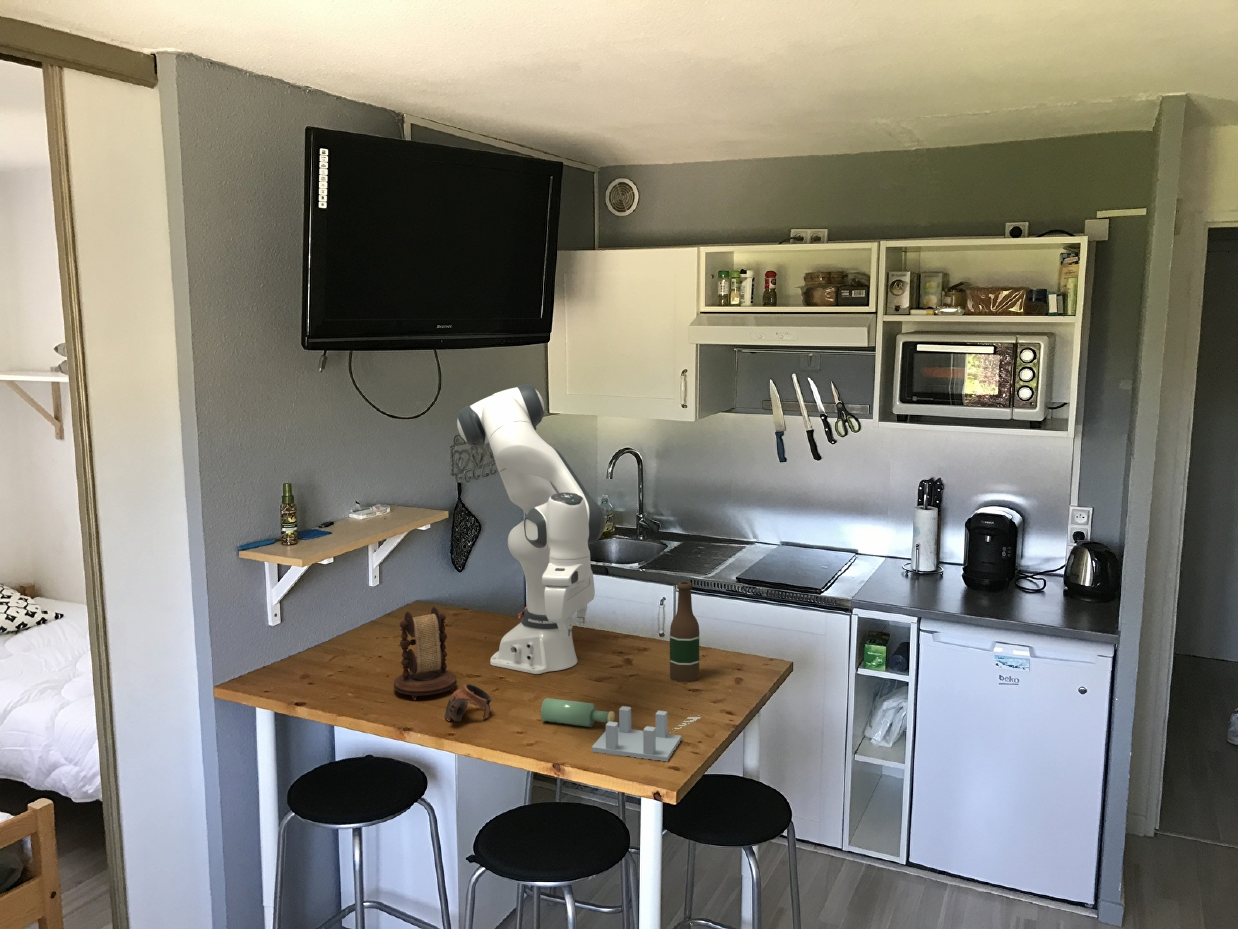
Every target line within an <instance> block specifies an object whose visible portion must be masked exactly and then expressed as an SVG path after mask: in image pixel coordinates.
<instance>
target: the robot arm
mask: <svg viewBox="0 0 1238 929" xmlns="http://www.w3.org/2000/svg"><path fill="white" fill-rule="evenodd" d="M544 416H545V404H544V399H543V397H542V395H541V393H540V392H539V391H538V390H537V389H536V388H535V387H534V386H533V385H531V384H530V383H528V384H527V383H526V384H519V385H517V386H516V387H511V388H507V389H504V390H501V391H498V392H495V393H493V394H492V395H489V396H487V397H485V398H482V399H480V400H478V401H476V402H475V403H473V404H471V405H469V404H468V405H466V406H464V407H463V408H461V409H460V410H459V412H458V413H457V416H456V417H457V421H456V424H457V430H458V432H459V435H460V437H461V438H462V439H463V441H465V442H466V443H467V445H469V446H470V447H475V448H476V447H481V446H485V444H489V446H490V448H491V451H492V452H491V453H492V454H493V459H494V463H495V465H496V468H497V471H498V473H499V476H500V479H501V481H502V484H503V486H504V489H505V491H506V494H507V495H508V498H509V500H510V501H511V503H513V504H514V506H515V505H516V506H518V508H520V509H522V511H523V512H524V513H525V514H526V516H525V517H524V520H522V521H521V522H518V524H517V525H516V526H514V527H513V528H512V529H511V530H510V532H509V533H508V536H507V547H508V549H509V553H510V554H511V556H513V558H514V559H515V560H516V561H518V562H519V563H520V565H521V568H522V570H523V574H524V578H525V579H524V580H525V585H526V604H527V606H525V607H524V609H523V610H521V611H520V613H518V619H520V622H519V623H518V624H517V625H516V626H514V627H513V628H511V629H510V630H509V631H508V632H507V633H505V634H504V635H503V637H502V638H501V640H500V643H499V649H498V651H496V652H495V653H493V655H492V656H491V657H490V661H489V663H490V665H491V666H494V667H498V668H503V669H507V670H514V671H519V672H524V673H527V674H528V673H529V674H535V675H539V674H543V673H547V672H555V671H561V670H566V669H570V668H572V667H574V666H576V664H577V663H578V658H577V655H576V651H575V645H574V641H573V632H572V630H573V625H574V624H573V622H574V620H573V619H574V618H573V615H574V614H576V617H575V625H576V626H577V627H582V626H584V625H585V624H586V623H587V622H586V616H587V611H588V605H589V604H590V603H591V602H592V601H593V600H594V599H595V595H596V594H595V592H596V591H595V580H594V574H593V573H594V572H593V570H592V567H591V551H590V549H589V545H591V544H592V545H593V544H595V543H596V542H597V541H598V540H599V539H600V538H601V536H602V535H603V533H604V531H605V529H606V526H607V525H606V524H607V523H606V516H605V513H604V510H603V509H602V507H601V506H600V504H599V503H597V501H595V499H594V498H593V497H592V496H591V495H590V494H589V492H588V491H587V490H586V488H585V487H584V485H583V484H582V483H581V481H580V479H579V477H578V476H577V474H576V473H575V471H574V470H573V469H572V468H571V466H570V464H569V463H568V461H567V460H566V459H565V457H564V456H563V455H562V453H561V452H560V451H559V450H558V449H557V448H555V447H553V446H551V445H550V444H548V443H547V442H546V441H545V440H544V439H543V438H541V436H540V435H539V434H538V433H537V426H538V425H539V424H540V423H541V422H542V420H543V419H544ZM552 484H553V485H554V487H553V485H552ZM554 488H556V490H557V491H556V490H555V489H554Z"/></svg>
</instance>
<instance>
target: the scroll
mask: <svg viewBox="0 0 1238 929" xmlns="http://www.w3.org/2000/svg"><path fill="white" fill-rule="evenodd" d="M430 610H431V611H430V614H425V615H421V616H414V617H413V615H412V613H411V612H410V611H409V610H408V611H406V612H405V613H404V619H403V620H401V621H400V622H399V627H400V628H401V629H400V631H401V635H400V637H401V640H400V641H399V642H400V645H399V646H400V648H401V649H402V652H401V653H402V654H401V658H402V659H401V662H400V663H401V666H402V669H403V670H402V673H401V675H399V676H396V678H395V679H394V680H393V689H394V690H395V692H397V693H399V694H403V695H406V696H411V698H412V700H413V699H415V698H416V699H417V697H419V696H421V697H422V696H430V695H431V696H432V695H437V694H442V693H445V692H447V691H449V692H451V691H453V692H454V690H455V686H456V685H457V676H456V675H455V673H453V672H452V671H451V672H450V671H449V670H447V669H448V665H447V663H446V661H447V659H446V658H447V656H448V653H447V651H446V649H447V646H446V644H445V643H446V641H447V639H448V635H447V632H445V631H446V626H445V624H446V619H447V616H446V615H445V613H442V612H440V611H439V609H438V608H437V607H436V606H433V607H432V608H431V609H430ZM408 635H409V636H410V637H411V640H410V639H408ZM414 638H415V639H414ZM410 646H415V648H416V655H415V651H413V649H411V648H409V647H410Z"/></svg>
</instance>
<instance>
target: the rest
mask: <svg viewBox="0 0 1238 929" xmlns="http://www.w3.org/2000/svg"><path fill="white" fill-rule="evenodd" d="M618 719H619V720H618V722H617V721H614V722H608V723H607V722H606V724H605V731H604V732H603V733H602V735H601V736H600V737H599V738H598V739H596V741H595V742H594V744H593V745H592V746H591V753H597V752H598V754H605V753H606V754H605V755H614V756H620V755H621V757H626V756H631V757H630V758H634V757H636V758H635V759H641V758H644V760H648V759H652V760H651V761H655V760H662V761H661V762H663V760H664V761H667V760H668V759H669V760H670V759H671V757H670V756H672V755H673V754H674V752H675V751H676V749H677V748H676V746H677V747H678V746H679V745H678V744H680V743H681V742H682V735H679V734H673V733H668V711H664V710H657V712H656V713H655V727H654V726H647V725H646V726H645V727H644V728H643V730H639V729H633V728H632V707H631V706H624V705H622V706H621V707H620V708H619V709H618ZM680 741H681V742H680ZM674 750H675V751H674ZM673 751H674V752H673ZM672 753H673V754H672ZM671 754H672V755H671ZM669 760H668V761H669ZM668 761H667V762H668Z"/></svg>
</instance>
